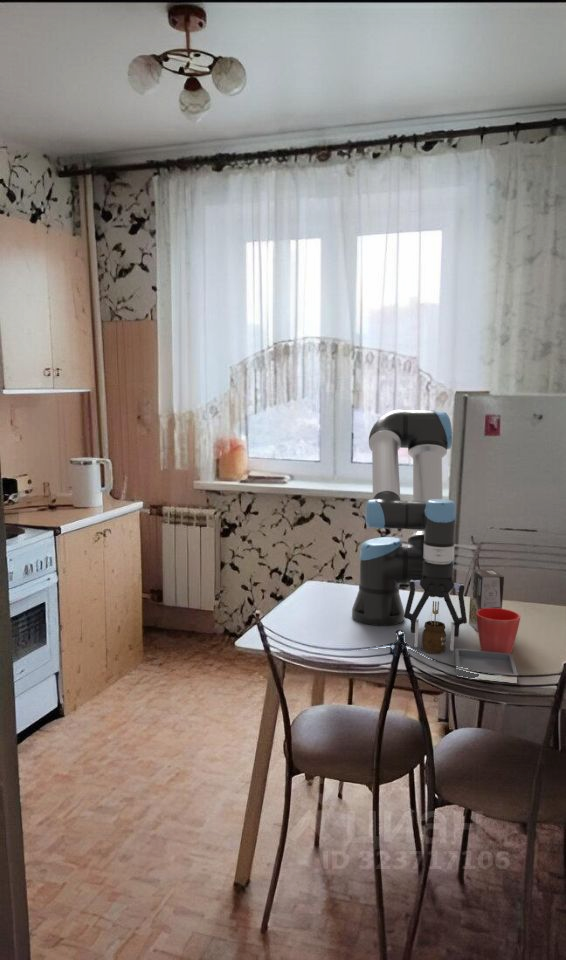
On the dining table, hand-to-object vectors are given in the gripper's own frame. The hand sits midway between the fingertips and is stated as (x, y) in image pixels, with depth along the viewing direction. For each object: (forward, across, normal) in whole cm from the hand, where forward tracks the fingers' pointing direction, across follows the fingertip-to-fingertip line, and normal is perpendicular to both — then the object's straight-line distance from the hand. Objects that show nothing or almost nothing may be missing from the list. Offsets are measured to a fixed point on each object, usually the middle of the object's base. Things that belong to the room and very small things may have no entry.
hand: (433, 646), depth 179 cm
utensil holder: (+1, 0, 0) cm, 1 cm away
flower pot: (+1, +16, +4) cm, 16 cm away
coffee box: (+1, +14, +21) cm, 25 cm away
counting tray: (+1, +12, -10) cm, 16 cm away
